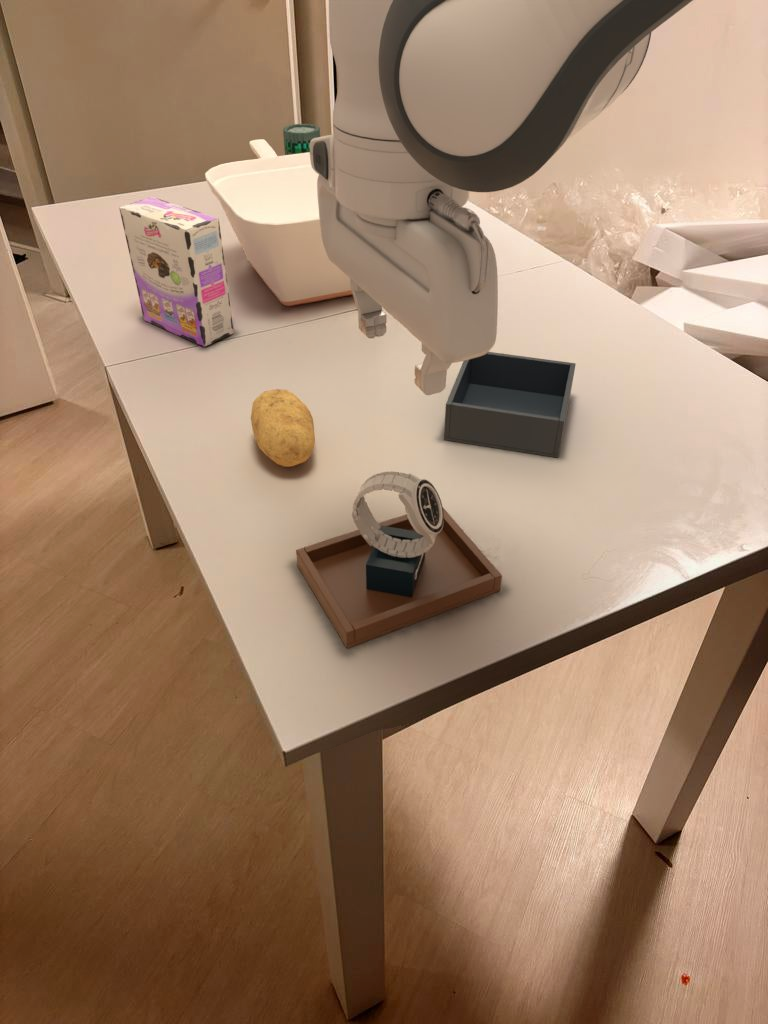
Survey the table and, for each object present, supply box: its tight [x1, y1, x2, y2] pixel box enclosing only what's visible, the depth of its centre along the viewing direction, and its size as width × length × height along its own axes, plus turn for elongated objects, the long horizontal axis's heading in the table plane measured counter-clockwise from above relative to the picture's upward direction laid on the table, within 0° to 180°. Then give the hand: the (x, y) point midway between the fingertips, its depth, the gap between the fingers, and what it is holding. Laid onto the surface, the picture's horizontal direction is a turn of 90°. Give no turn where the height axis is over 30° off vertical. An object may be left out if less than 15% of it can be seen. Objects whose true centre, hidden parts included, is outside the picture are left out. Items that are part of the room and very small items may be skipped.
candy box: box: [118, 196, 235, 348], centre depth 109 cm, size 14×6×16 cm, turn 51°
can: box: [282, 123, 321, 155], centre depth 144 cm, size 6×6×15 cm
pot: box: [204, 138, 353, 307], centre depth 128 cm, size 29×44×15 cm, turn 24°
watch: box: [351, 471, 444, 598], centre depth 72 cm, size 6×8×11 cm
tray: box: [295, 507, 503, 649], centre depth 75 cm, size 16×12×2 cm
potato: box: [250, 388, 316, 468], centre depth 89 cm, size 7×11×6 cm, turn 18°
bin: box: [443, 351, 577, 459], centre depth 95 cm, size 13×13×5 cm
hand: (399, 360), depth 61 cm, fingers open, 8 cm apart
